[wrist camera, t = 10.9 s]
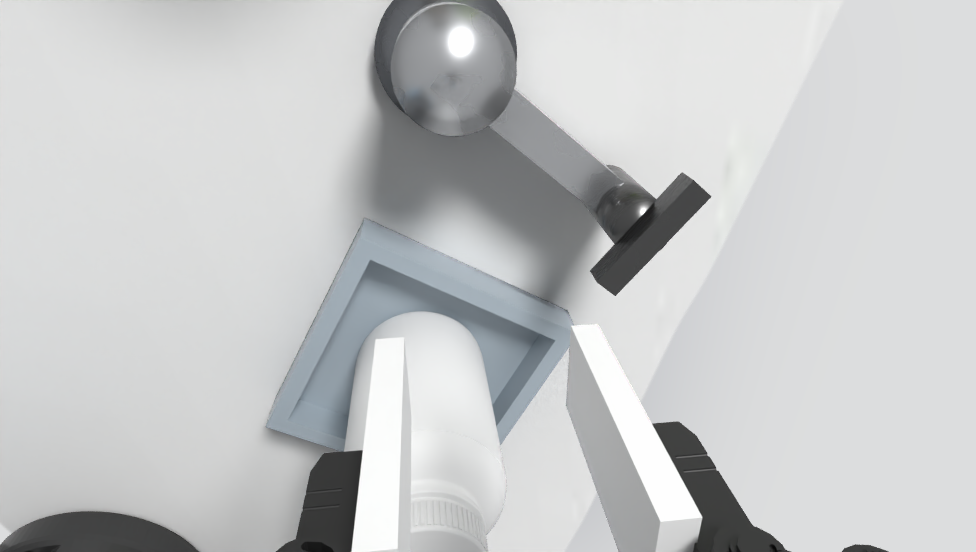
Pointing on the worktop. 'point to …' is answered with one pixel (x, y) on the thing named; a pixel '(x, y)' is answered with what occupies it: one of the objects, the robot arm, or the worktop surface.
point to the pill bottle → (441, 431)
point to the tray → (409, 288)
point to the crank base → (397, 15)
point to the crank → (528, 130)
